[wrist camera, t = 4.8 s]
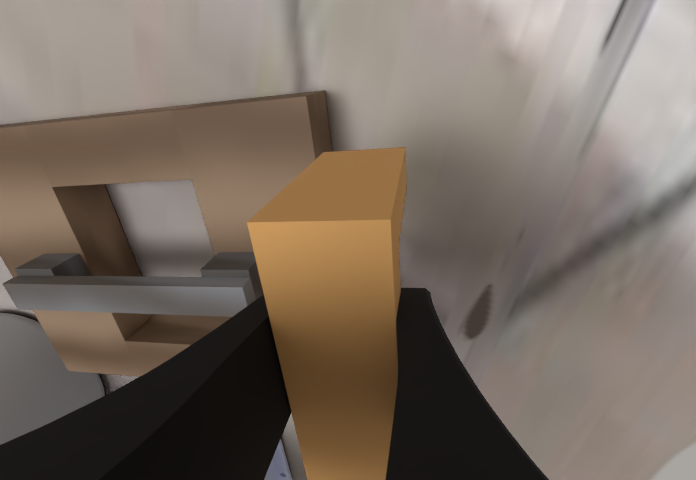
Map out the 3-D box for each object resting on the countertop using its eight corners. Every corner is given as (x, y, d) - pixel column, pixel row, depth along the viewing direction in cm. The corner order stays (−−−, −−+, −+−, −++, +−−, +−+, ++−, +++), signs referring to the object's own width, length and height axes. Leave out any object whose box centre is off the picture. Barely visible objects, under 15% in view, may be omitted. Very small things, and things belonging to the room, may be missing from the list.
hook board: (357, 355, 23) (340, 432, 19) (101, 341, 28) (33, 400, 23) (324, 90, 17) (283, 102, 12) (-8, 125, 21) (-138, 145, 16)
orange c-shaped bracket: (411, 342, 14) (404, 495, 9) (347, 339, 14) (308, 482, 9) (405, 147, 11) (390, 219, 6) (323, 152, 11) (246, 222, 6)
